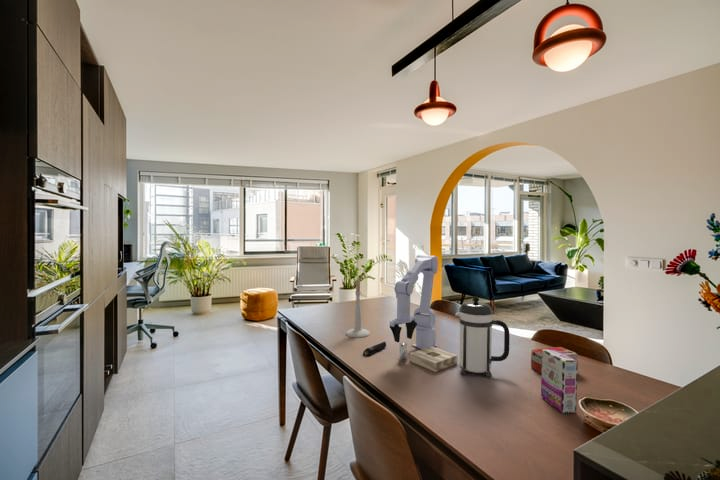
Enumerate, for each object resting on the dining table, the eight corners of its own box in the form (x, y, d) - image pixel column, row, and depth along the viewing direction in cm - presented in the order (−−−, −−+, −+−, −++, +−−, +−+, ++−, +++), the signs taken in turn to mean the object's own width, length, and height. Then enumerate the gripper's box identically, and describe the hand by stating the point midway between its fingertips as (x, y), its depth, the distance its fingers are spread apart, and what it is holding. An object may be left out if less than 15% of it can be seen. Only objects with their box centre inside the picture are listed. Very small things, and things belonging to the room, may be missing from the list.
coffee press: (477, 383, 126) (478, 302, 125) (447, 367, 140) (448, 294, 140) (510, 374, 134) (511, 298, 133) (478, 360, 148) (479, 291, 148)
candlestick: (374, 333, 188) (374, 278, 187) (361, 339, 177) (361, 281, 176) (354, 329, 195) (354, 276, 194) (341, 335, 184) (341, 279, 183)
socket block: (431, 353, 156) (431, 346, 156) (457, 363, 145) (457, 355, 145) (409, 361, 148) (409, 353, 147) (435, 371, 137) (435, 363, 136)
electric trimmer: (388, 348, 165) (388, 342, 164) (368, 357, 152) (368, 350, 152) (381, 346, 167) (381, 340, 167) (362, 355, 155) (362, 348, 155)
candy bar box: (577, 413, 106) (578, 360, 105) (562, 414, 105) (563, 361, 105) (554, 396, 117) (555, 348, 117) (540, 396, 117) (541, 348, 116)
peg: (403, 357, 152) (403, 342, 151) (408, 359, 149) (408, 343, 149) (397, 359, 150) (398, 343, 149) (403, 361, 147) (403, 345, 147)
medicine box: (545, 377, 133) (546, 356, 132) (530, 368, 141) (530, 349, 140) (577, 373, 137) (577, 353, 136) (560, 365, 144) (561, 346, 144)
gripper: (398, 313, 141) (397, 345, 141) (421, 308, 150) (421, 339, 150) (386, 309, 147) (386, 341, 147) (410, 305, 156) (409, 335, 156)
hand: (403, 340), depth 149 cm, fingers open, 7 cm apart
